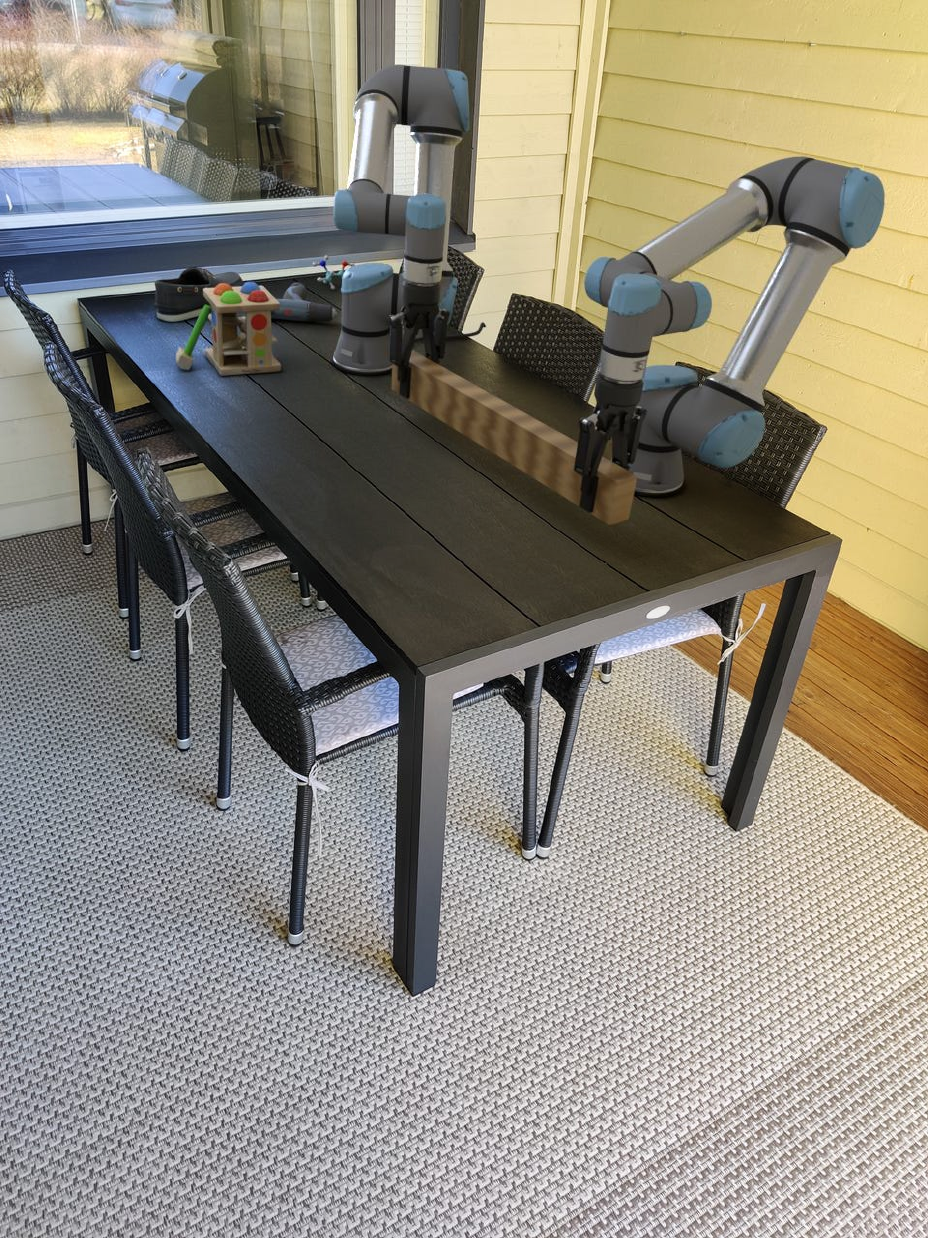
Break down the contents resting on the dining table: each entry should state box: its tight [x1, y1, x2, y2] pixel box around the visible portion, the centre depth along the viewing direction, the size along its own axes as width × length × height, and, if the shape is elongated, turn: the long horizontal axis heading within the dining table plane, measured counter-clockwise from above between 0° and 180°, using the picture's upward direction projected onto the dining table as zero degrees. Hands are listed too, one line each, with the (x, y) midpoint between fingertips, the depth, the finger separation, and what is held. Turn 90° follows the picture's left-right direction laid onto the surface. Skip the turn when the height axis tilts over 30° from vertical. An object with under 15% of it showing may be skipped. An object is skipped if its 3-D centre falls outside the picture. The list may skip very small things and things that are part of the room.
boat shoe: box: [153, 265, 244, 323], centre depth 262 cm, size 13×33×10 cm, turn 147°
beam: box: [391, 349, 638, 526], centre depth 186 cm, size 67×5×8 cm, turn 37°
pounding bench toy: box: [174, 281, 282, 377], centre depth 225 cm, size 23×14×18 cm, turn 116°
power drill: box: [271, 282, 338, 322], centre depth 265 cm, size 5×19×20 cm
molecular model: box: [312, 255, 355, 291], centre depth 288 cm, size 12×10×10 cm
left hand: (415, 393), depth 206 cm, fingers closed on beam, 5 cm apart
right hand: (597, 505), depth 170 cm, fingers closed on beam, 5 cm apart
